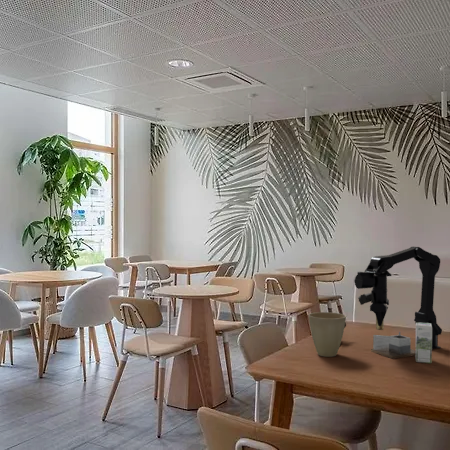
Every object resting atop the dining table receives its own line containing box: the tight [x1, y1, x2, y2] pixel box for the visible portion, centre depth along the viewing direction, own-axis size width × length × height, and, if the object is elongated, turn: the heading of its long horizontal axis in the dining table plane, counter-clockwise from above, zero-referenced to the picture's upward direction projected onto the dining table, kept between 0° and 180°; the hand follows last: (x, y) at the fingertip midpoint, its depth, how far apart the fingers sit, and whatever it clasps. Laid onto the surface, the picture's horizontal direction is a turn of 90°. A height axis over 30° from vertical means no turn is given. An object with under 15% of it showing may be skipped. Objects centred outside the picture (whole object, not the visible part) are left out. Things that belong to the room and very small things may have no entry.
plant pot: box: [308, 311, 347, 358], centre depth 205 cm, size 15×15×16 cm
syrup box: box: [414, 322, 433, 364], centre depth 195 cm, size 6×6×14 cm
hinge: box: [370, 331, 416, 360], centre depth 207 cm, size 15×12×7 cm
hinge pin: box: [375, 317, 385, 331], centre depth 209 cm, size 3×3×8 cm
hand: (379, 325), depth 209 cm, fingers closed on hinge pin, 3 cm apart
